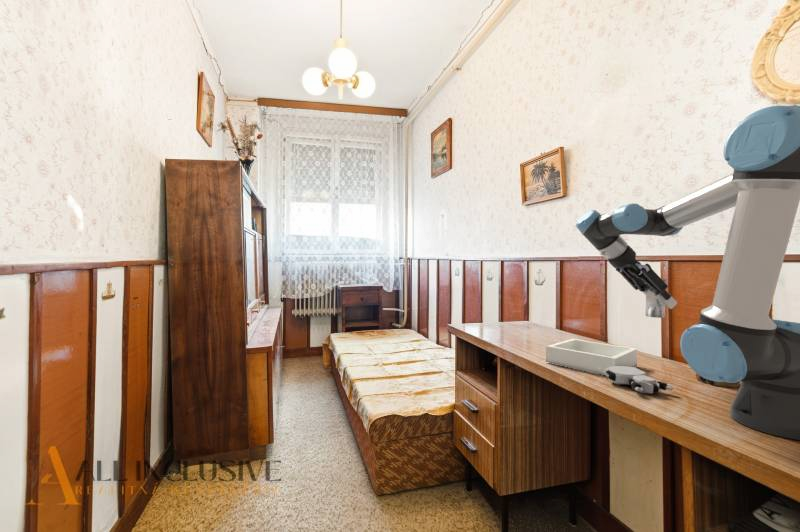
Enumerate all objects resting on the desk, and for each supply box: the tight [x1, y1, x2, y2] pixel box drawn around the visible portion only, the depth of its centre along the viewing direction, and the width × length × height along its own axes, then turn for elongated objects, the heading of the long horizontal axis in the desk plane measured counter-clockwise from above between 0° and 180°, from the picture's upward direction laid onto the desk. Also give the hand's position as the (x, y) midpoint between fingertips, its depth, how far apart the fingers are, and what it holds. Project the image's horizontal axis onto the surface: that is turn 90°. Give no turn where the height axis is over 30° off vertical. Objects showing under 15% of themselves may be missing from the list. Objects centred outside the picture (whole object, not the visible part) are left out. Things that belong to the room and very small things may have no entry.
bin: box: [545, 338, 638, 376], centre depth 127 cm, size 22×22×6 cm
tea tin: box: [645, 278, 667, 319], centre depth 115 cm, size 5×5×12 cm
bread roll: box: [695, 372, 741, 388], centre depth 109 cm, size 10×10×8 cm
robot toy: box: [599, 366, 674, 394], centre depth 103 cm, size 12×4×15 cm
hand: (666, 304), depth 115 cm, fingers closed on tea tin, 5 cm apart
